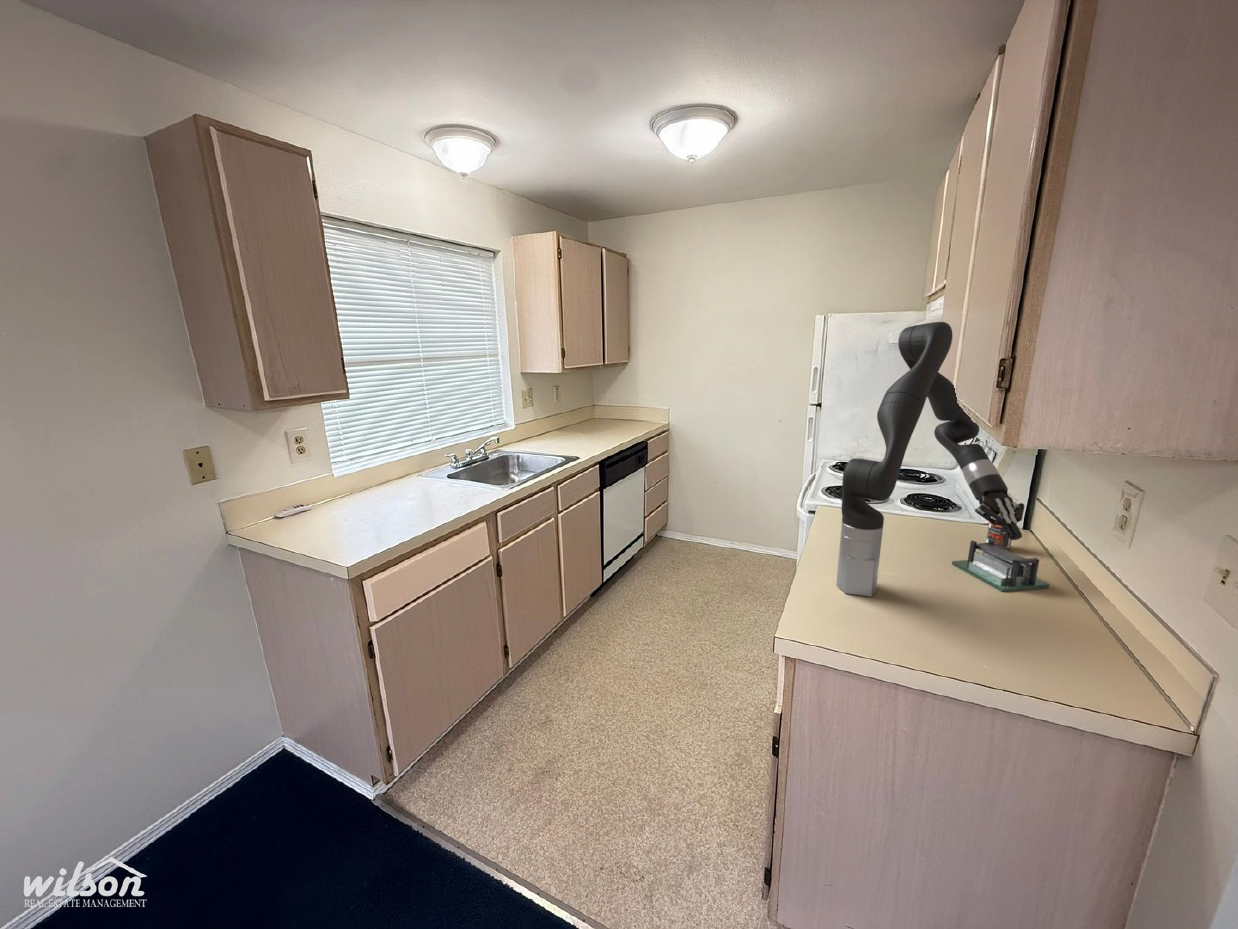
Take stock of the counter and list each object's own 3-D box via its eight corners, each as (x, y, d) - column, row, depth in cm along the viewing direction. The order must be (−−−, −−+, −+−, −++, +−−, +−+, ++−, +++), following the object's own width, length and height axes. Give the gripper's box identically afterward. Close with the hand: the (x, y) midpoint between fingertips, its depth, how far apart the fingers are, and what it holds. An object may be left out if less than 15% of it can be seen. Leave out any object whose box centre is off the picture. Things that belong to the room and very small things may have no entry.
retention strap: (973, 542, 135) (1015, 560, 123) (986, 542, 136) (1029, 559, 123) (973, 547, 135) (1014, 565, 123) (986, 546, 136) (1029, 564, 124)
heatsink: (951, 564, 137) (955, 539, 136) (994, 561, 139) (998, 536, 137) (1001, 591, 122) (1006, 563, 120) (1048, 587, 123) (1054, 559, 122)
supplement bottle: (983, 548, 148) (989, 512, 145) (986, 542, 152) (992, 508, 149) (1008, 553, 144) (1015, 517, 141) (1010, 547, 148) (1017, 512, 145)
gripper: (971, 473, 129) (1004, 534, 120) (1016, 471, 131) (1052, 531, 122) (952, 487, 136) (982, 546, 127) (995, 485, 137) (1028, 543, 128)
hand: (1016, 538), depth 124 cm, fingers closed
